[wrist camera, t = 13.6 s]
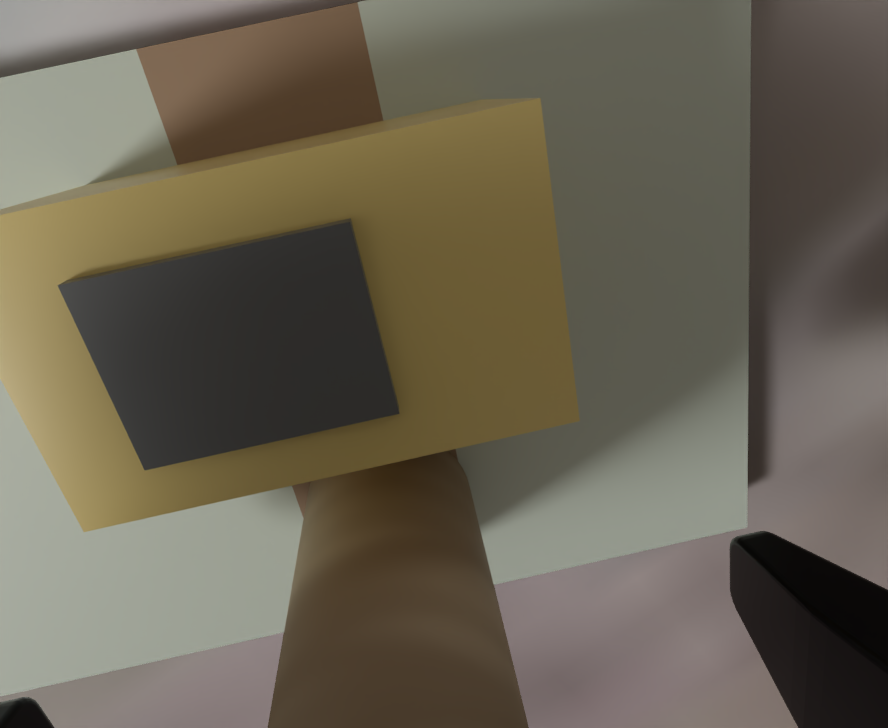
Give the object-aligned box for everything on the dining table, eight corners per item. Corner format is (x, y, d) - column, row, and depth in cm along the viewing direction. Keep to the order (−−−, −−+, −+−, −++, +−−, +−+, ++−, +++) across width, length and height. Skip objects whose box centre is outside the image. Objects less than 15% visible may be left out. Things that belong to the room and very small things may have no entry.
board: (717, -65, 8) (751, -82, 7) (723, 500, 12) (746, 527, 11) (-688, 233, 8) (-801, 247, 7) (-231, 715, 11) (-273, 758, 11)
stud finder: (481, 99, 8) (546, 96, 5) (516, 322, 9) (584, 428, 6) (85, 185, 8) (-95, 236, 5) (175, 397, 9) (77, 542, 6)
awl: (465, 422, 9) (698, 1250, 3) (474, 556, 10) (656, 1396, 4) (294, 441, 9) (73, 1374, 2) (319, 576, 10) (216, 1492, 4)
